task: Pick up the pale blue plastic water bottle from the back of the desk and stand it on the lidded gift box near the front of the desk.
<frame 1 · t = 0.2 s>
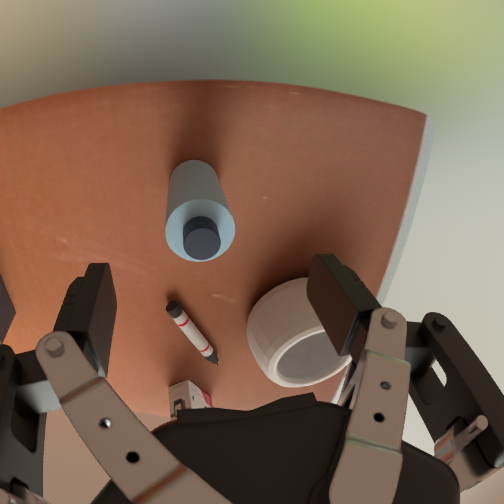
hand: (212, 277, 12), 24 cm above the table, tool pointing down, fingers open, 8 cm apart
water bottle: (193, 183, 34), on the table
mug: (298, 301, 48), on the table
marker: (196, 332, 47), on the table
ink box: (190, 391, 55), on the table
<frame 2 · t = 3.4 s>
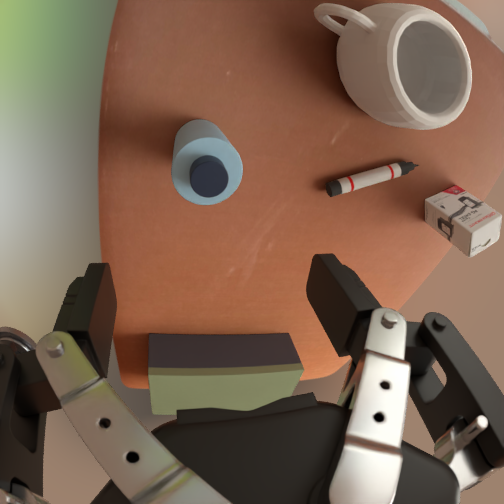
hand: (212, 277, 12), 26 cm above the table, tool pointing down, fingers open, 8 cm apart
water bottle: (198, 142, 33), on the table
mug: (371, 54, 31), on the table
marker: (372, 172, 40), on the table
lidded gift box: (217, 357, 53), on the table
ink box: (440, 202, 46), on the table
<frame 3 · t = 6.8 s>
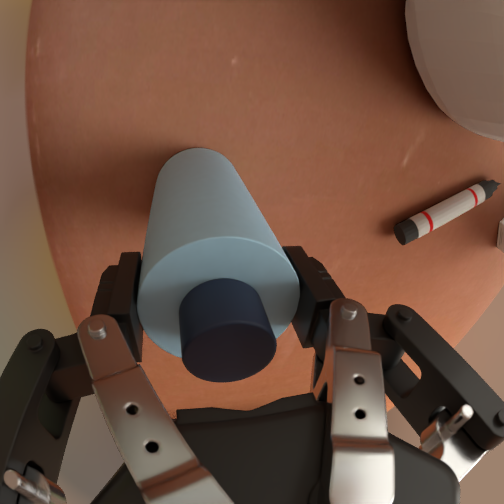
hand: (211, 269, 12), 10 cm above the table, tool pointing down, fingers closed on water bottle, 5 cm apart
water bottle: (197, 188, 20), on the table, touching gripper
mug: (444, 28, 16), on the table
marker: (449, 200, 26), on the table
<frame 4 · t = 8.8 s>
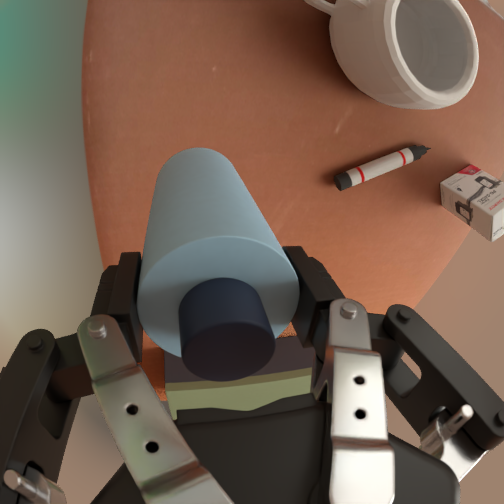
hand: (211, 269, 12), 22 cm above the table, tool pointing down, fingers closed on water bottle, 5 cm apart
water bottle: (197, 188, 20), point 13 cm above the table, touching gripper
mug: (367, 33, 27), on the table
marker: (382, 160, 36), on the table
lidded gift box: (237, 364, 51), on the table
ink box: (456, 184, 41), on the table
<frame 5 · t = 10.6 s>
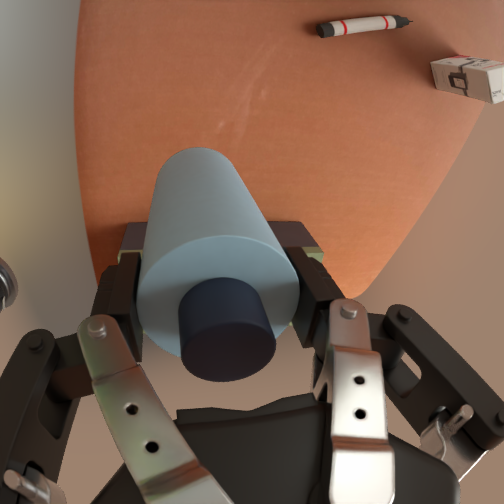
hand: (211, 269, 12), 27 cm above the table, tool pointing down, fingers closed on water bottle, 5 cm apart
water bottle: (197, 187, 20), point 18 cm above the table, touching gripper
marker: (365, 24, 30), on the table
lidded gift box: (215, 259, 44), on the table
ink box: (448, 71, 35), on the table
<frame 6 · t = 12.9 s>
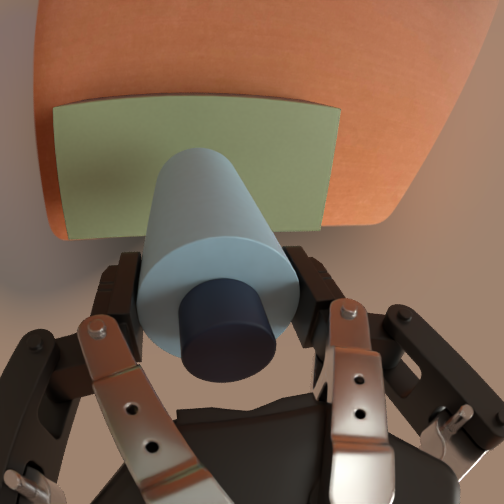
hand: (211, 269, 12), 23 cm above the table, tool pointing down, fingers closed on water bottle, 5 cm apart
water bottle: (197, 188, 20), point 13 cm above the table, touching gripper
lidded gift box: (192, 147, 31), on the table
when the fingers open (18 cm above the table, at t = 14.6 s): water bottle stays where it is, resting on lidded gift box.
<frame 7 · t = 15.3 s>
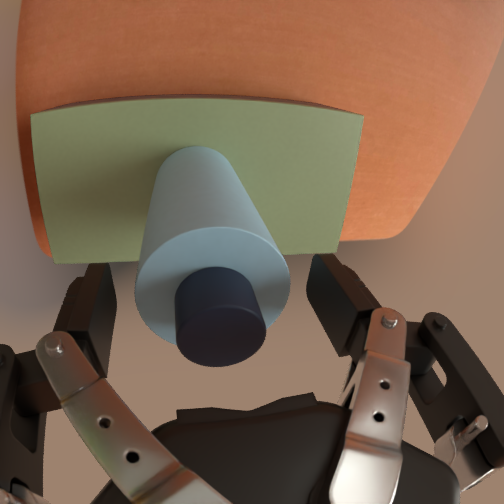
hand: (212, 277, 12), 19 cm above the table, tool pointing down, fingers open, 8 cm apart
water bottle: (195, 185, 21), point 8 cm above the table, touching lidded gift box
lidded gift box: (192, 156, 28), on the table
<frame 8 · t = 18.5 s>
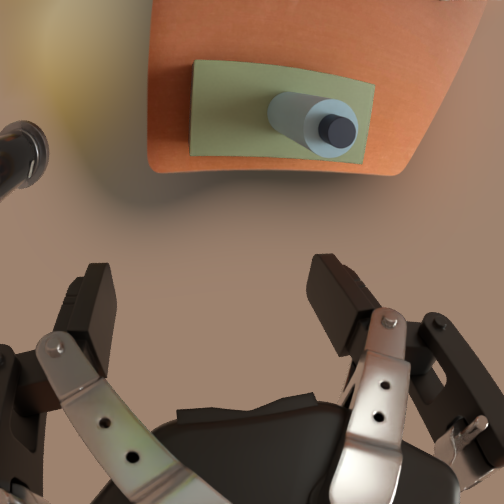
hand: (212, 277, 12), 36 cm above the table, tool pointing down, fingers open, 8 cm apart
water bottle: (288, 113, 35), point 8 cm above the table, touching lidded gift box
lidded gift box: (271, 107, 42), on the table
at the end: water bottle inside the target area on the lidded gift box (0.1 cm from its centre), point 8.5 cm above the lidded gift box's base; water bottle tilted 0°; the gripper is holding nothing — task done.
